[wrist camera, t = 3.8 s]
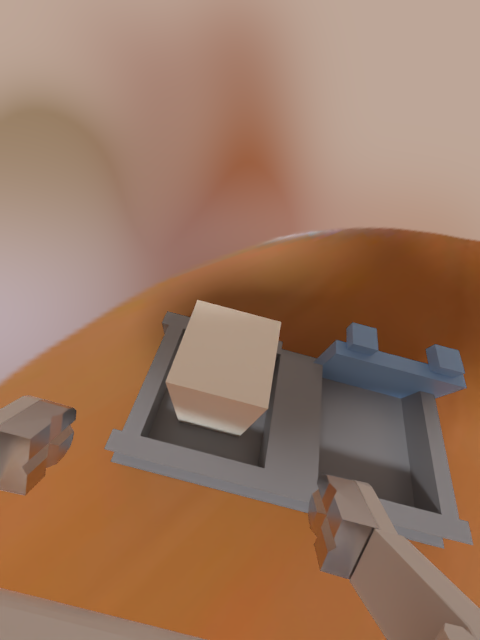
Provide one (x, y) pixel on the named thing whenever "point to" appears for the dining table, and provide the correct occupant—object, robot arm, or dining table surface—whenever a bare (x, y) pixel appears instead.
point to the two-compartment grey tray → (316, 432)
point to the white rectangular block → (223, 368)
